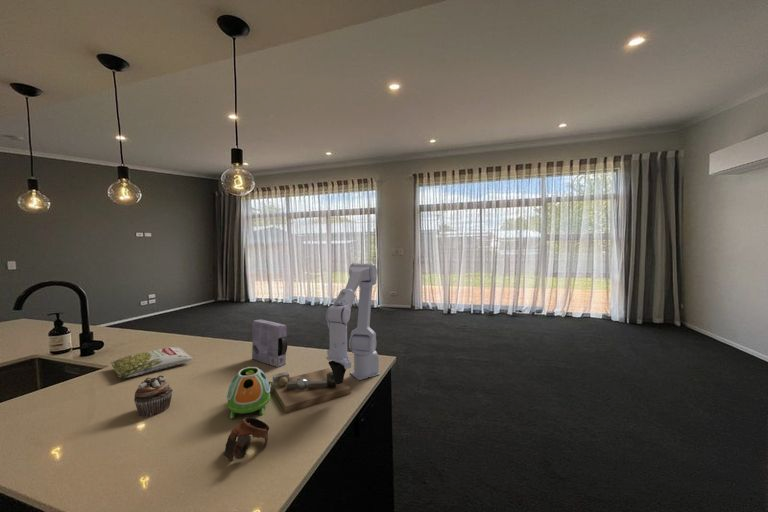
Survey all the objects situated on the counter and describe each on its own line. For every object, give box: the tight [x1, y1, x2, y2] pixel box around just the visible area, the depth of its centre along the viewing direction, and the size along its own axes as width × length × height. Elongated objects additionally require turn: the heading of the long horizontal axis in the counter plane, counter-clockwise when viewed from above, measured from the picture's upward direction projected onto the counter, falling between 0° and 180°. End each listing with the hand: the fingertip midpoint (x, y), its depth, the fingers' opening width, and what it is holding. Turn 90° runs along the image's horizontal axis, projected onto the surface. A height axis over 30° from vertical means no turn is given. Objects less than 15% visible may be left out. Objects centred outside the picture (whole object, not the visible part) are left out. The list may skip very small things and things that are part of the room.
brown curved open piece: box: [223, 416, 270, 462], centre depth 74 cm, size 12×10×8 cm
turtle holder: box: [226, 365, 271, 419], centre depth 96 cm, size 12×18×12 cm
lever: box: [287, 372, 336, 390], centre depth 104 cm, size 17×4×4 cm, turn 94°
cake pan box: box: [251, 318, 288, 368], centre depth 133 cm, size 19×5×18 cm, turn 58°
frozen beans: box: [110, 346, 194, 379], centre depth 129 cm, size 21×6×25 cm
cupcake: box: [133, 375, 174, 418], centre depth 94 cm, size 10×10×10 cm
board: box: [270, 367, 352, 414], centre depth 106 cm, size 22×20×5 cm
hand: (338, 383), depth 99 cm, fingers closed
